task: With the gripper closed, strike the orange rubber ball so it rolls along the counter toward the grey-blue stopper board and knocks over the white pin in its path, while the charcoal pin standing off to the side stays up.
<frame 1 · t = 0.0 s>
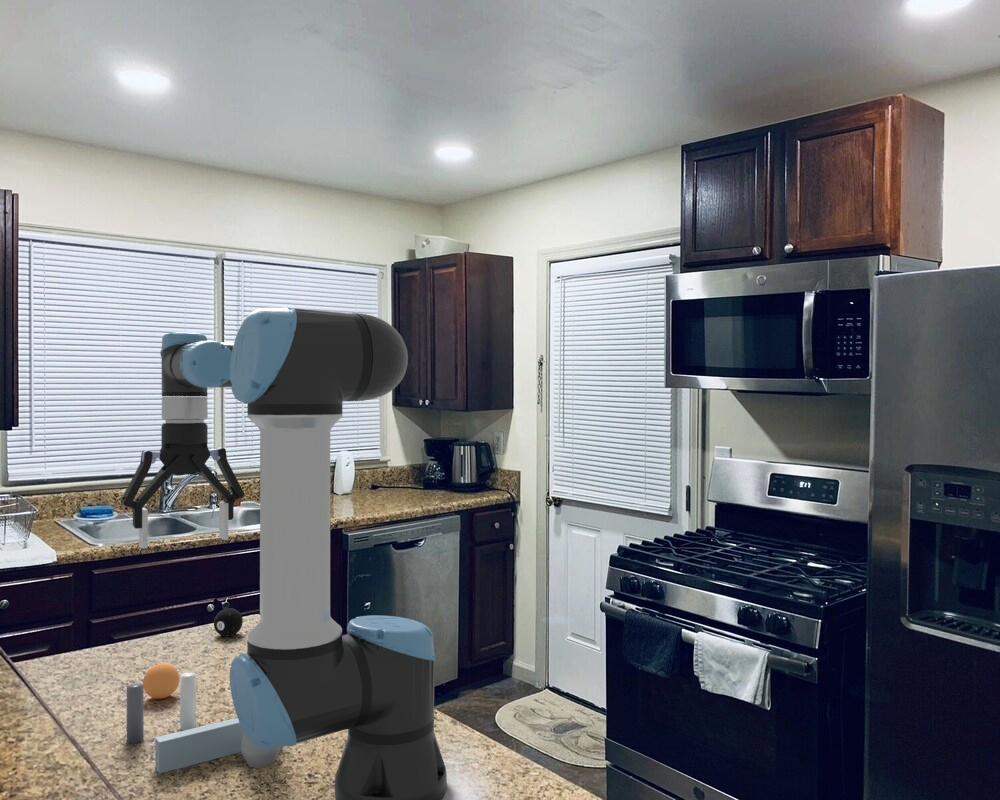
hand: (184, 543, 141), 28 cm above the countertop, tool pointing down, fingers open, 13 cm apart
charcoal pin: (135, 740, 125), on the countertop
white pin: (187, 727, 130), on the countertop
stopper board: (220, 754, 120), on the countertop
billiard ball: (228, 636, 180), on the countertop
ball: (161, 680, 143), on the countertop
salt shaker: (261, 763, 118), on the countertop
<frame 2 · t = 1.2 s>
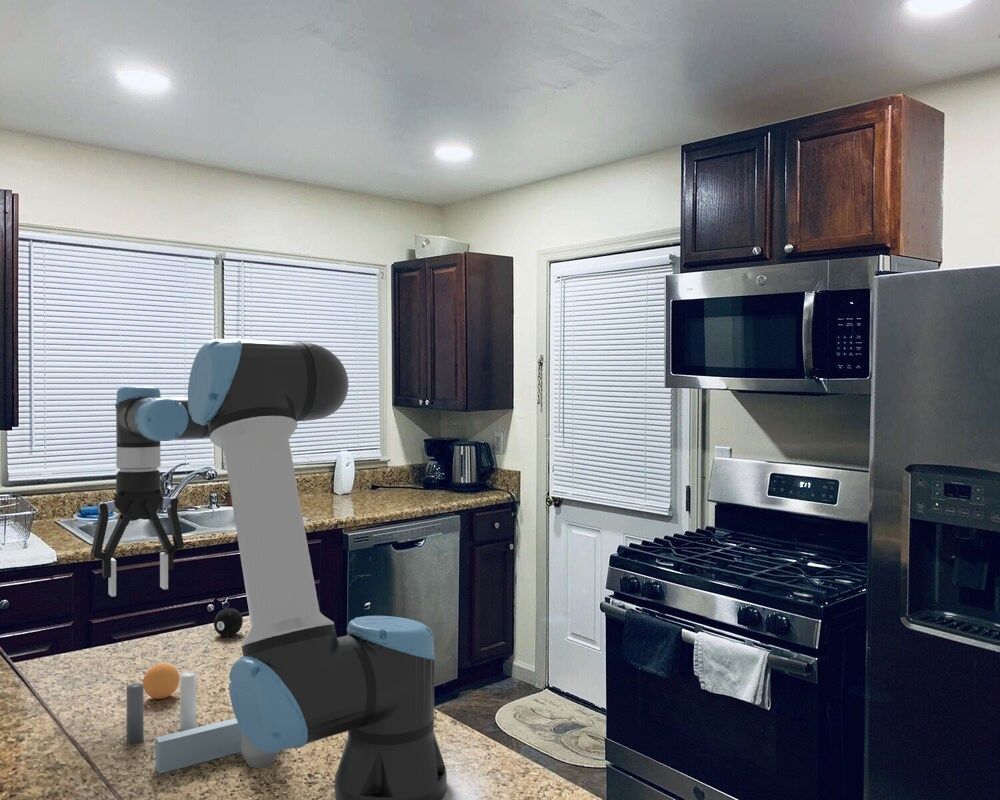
hand: (138, 591, 149), 17 cm above the countertop, tool pointing down, fingers open, 8 cm apart
nothing on the countertop moved.
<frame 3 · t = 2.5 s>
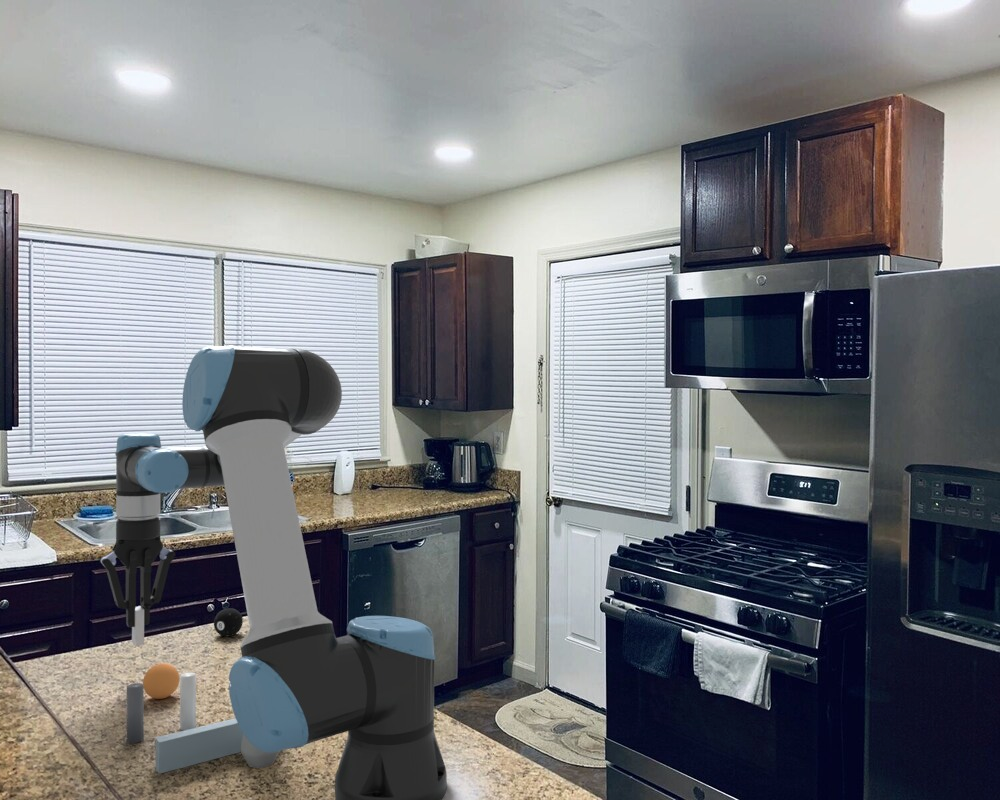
hand: (137, 642, 150), 8 cm above the countertop, tool pointing down, fingers closed
nothing on the countertop moved.
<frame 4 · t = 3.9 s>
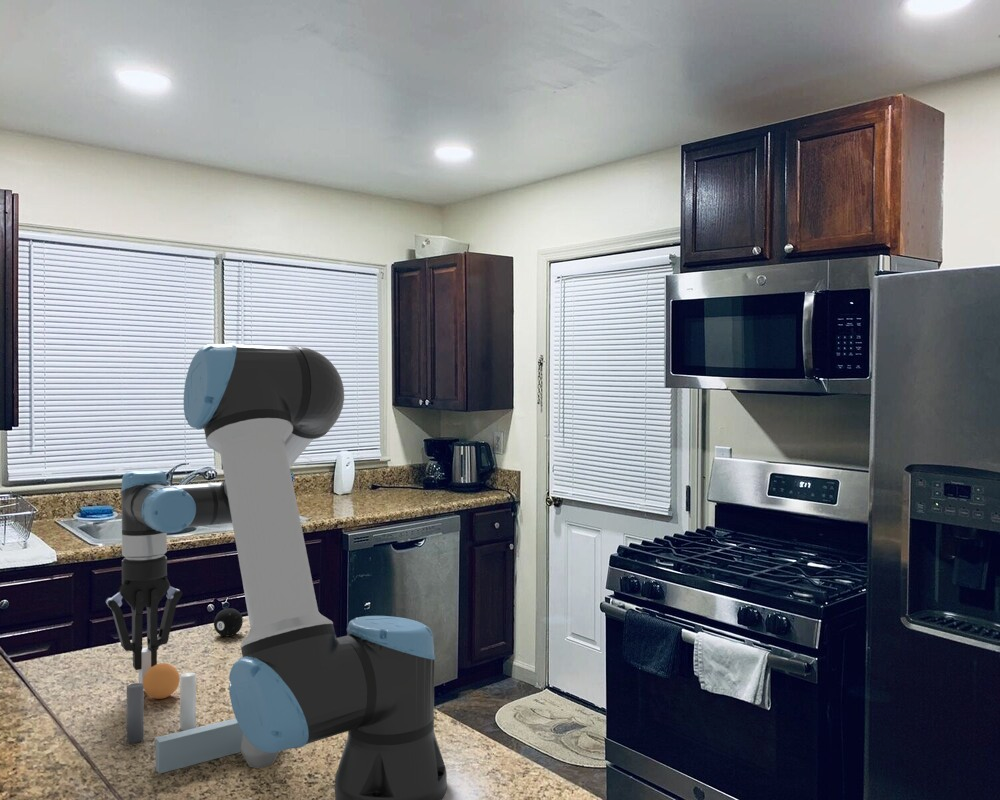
hand: (144, 685, 146), 1 cm above the countertop, tool pointing down, fingers closed
nothing on the countertop moved.
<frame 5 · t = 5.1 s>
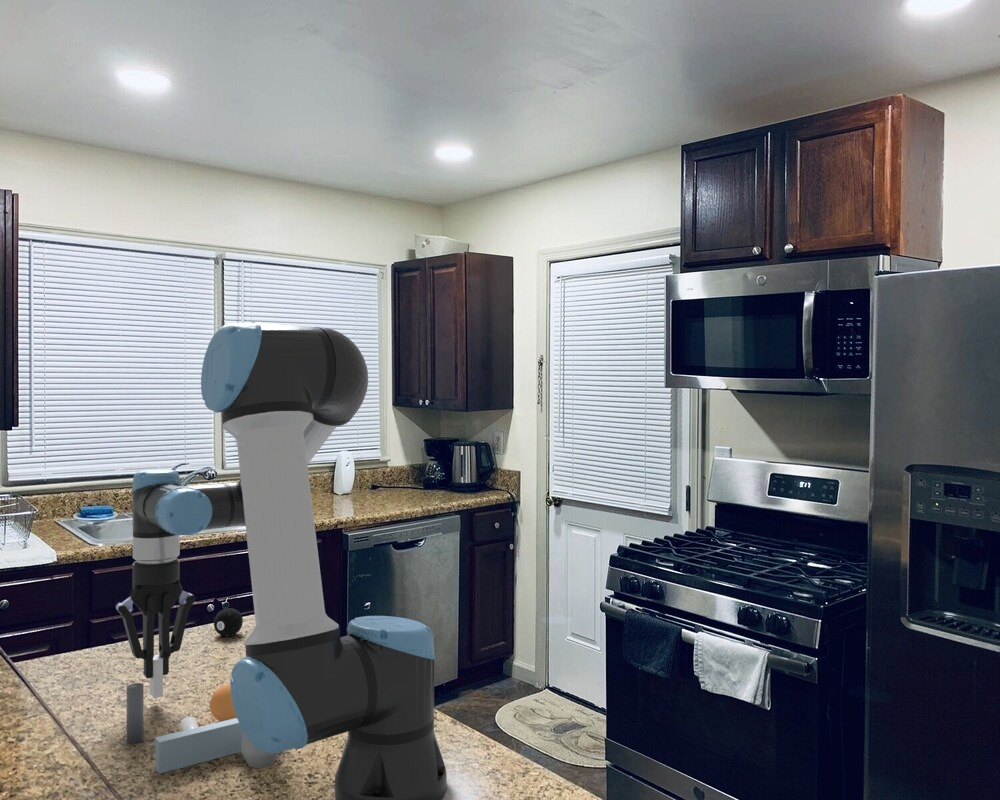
hand: (156, 694, 140), 2 cm above the countertop, tool pointing down, fingers closed
white pin: (188, 723, 129), point 1 cm above the countertop, tilted 90°
ball: (229, 703, 133), on the countertop
everything else where it was.
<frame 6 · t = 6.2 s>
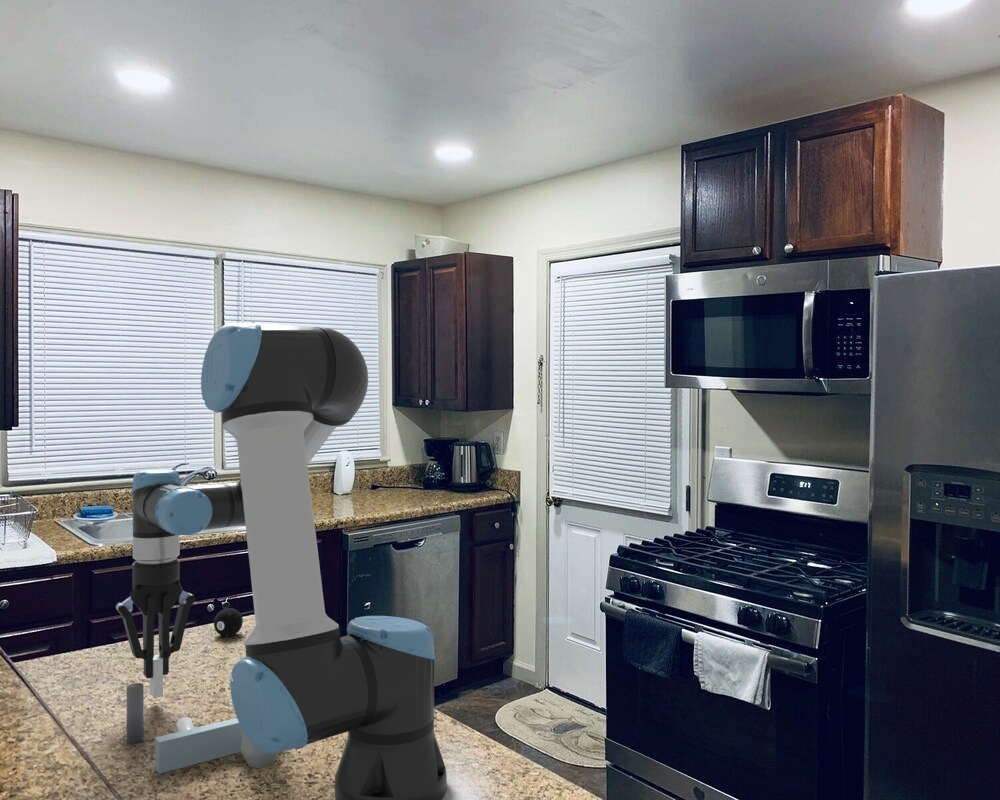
hand: (156, 694, 140), 2 cm above the countertop, tool pointing down, fingers closed
ball: (255, 706, 131), on the countertop
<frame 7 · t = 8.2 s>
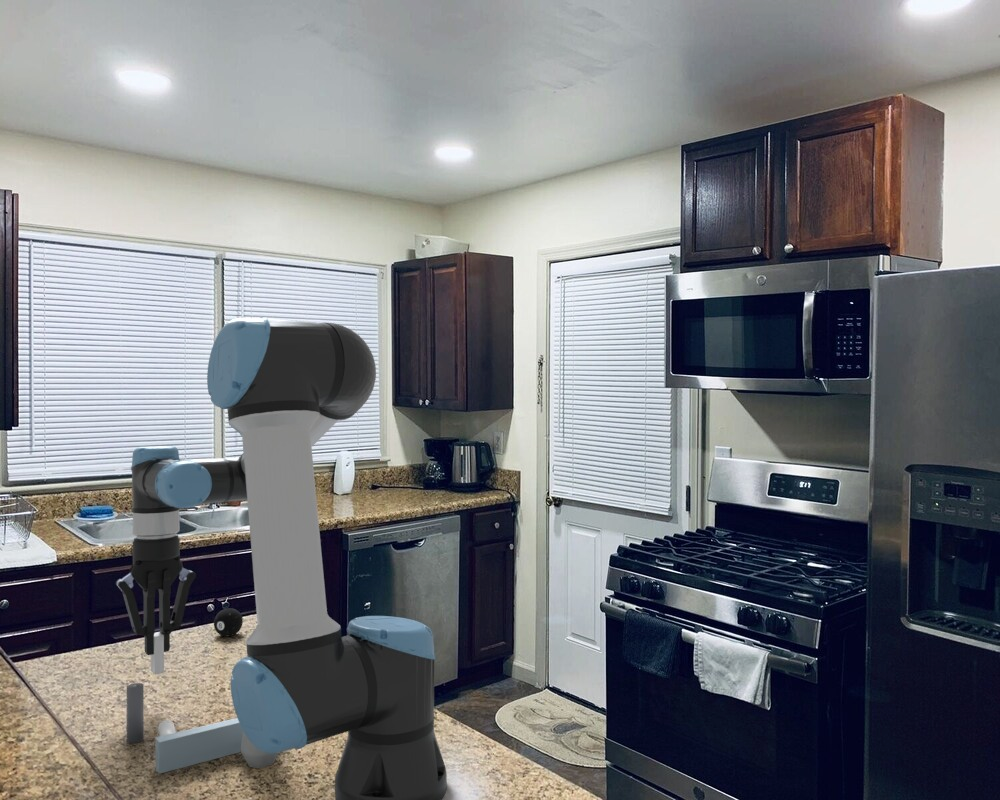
hand: (157, 671, 139), 6 cm above the countertop, tool pointing down, fingers closed
white pin: (165, 727, 127), point 1 cm above the countertop, tilted 90°
everything else where it was.
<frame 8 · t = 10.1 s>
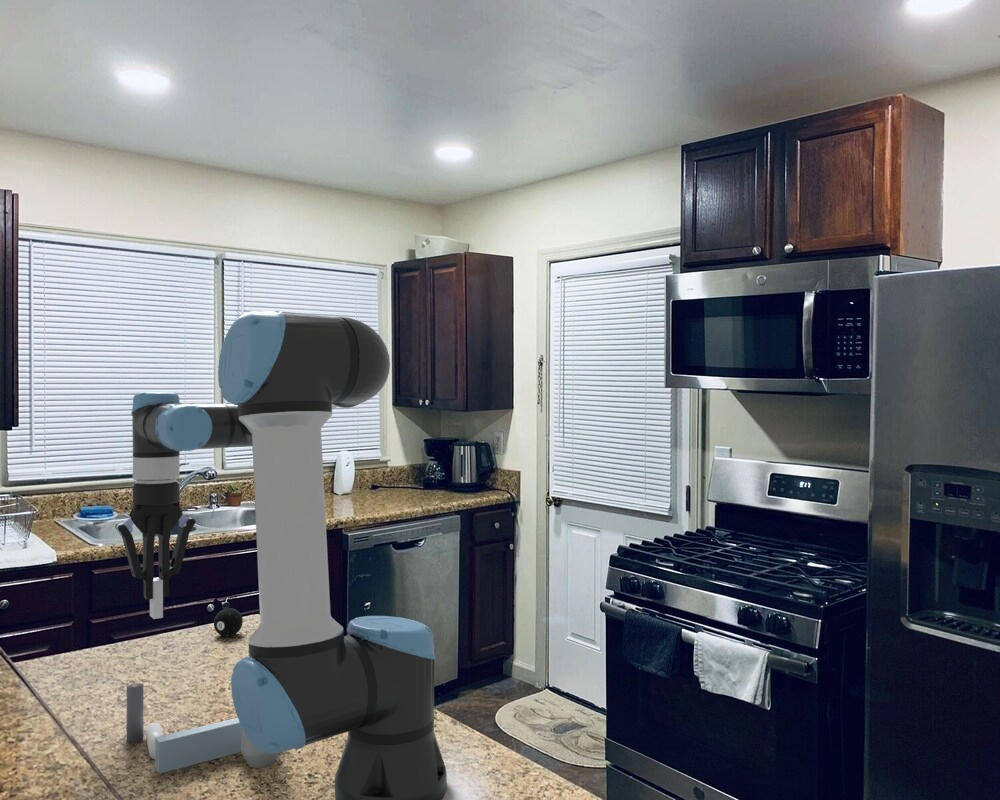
hand: (156, 616, 140), 15 cm above the countertop, tool pointing down, fingers closed
white pin: (153, 730, 127), point 1 cm above the countertop, tilted 90°
everything else where it was.
at the end: white pin tilted 90°; white pin never touched the robot; charcoal pin tilted 0° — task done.
